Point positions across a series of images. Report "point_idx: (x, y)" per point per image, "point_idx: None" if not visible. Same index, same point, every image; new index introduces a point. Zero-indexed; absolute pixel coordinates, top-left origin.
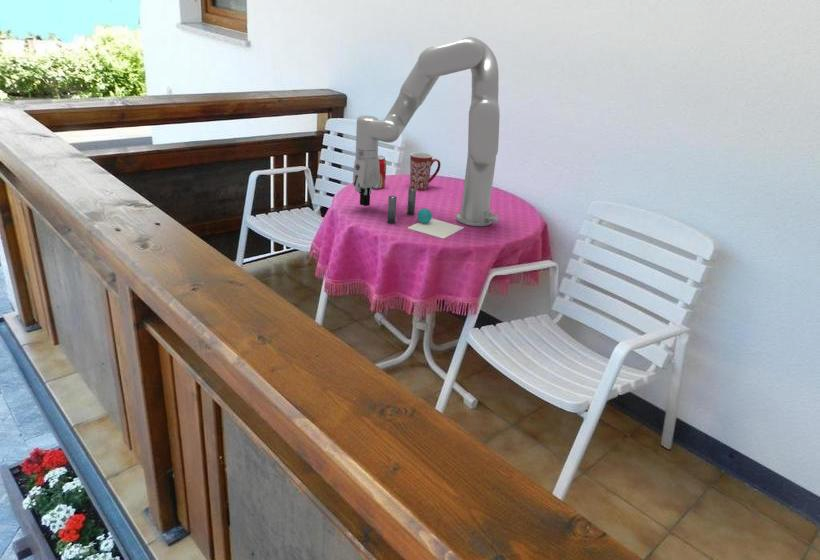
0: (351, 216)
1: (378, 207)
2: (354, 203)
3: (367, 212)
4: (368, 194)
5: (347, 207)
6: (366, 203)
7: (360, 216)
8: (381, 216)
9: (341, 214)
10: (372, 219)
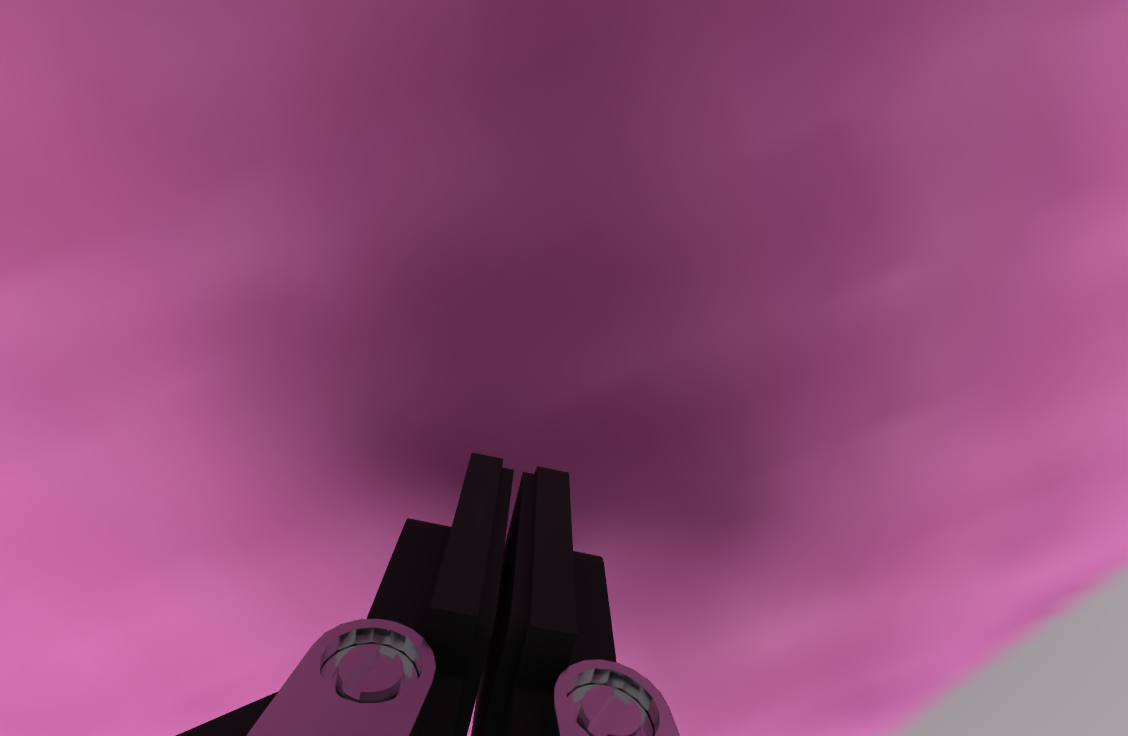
0: (995, 520)
1: (259, 308)
2: None
3: (665, 374)
4: (450, 650)
5: None
6: (564, 511)
7: (940, 394)
8: (772, 14)
9: (955, 675)
10: (1034, 119)
